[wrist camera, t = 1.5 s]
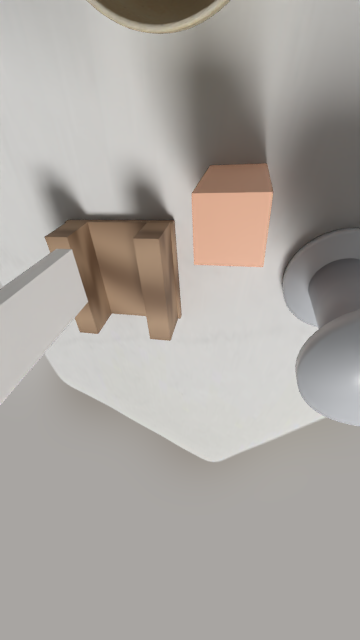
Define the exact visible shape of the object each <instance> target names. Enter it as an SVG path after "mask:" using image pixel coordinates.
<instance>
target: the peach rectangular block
mask: <svg viewBox="0 0 360 640" xmlns="http://www.w3.org/2000/svg"><path fill="white" fill-rule="evenodd" d="M272 198H273V189H272V184H271V180H270V175H269V171H268V166H267V163H262V164H234V165H210V166H209V168H208V170H207V171H206V173H205V174H204V176H203V177H202V179H201V180H200V182H199V183H198V185H197V186H196V188H195V189H194V191H193V192H192V217H193V246H194V265H219V266H246V267H263V265H264V257H265V250H266V243H267V235H268V228H269V220H270V213H271V205H272Z"/></svg>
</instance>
